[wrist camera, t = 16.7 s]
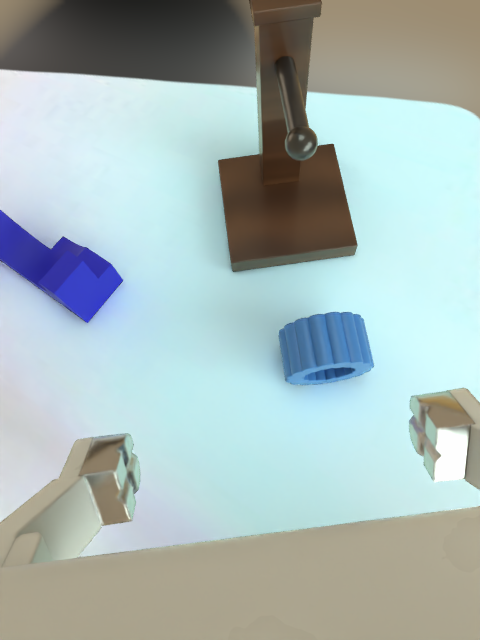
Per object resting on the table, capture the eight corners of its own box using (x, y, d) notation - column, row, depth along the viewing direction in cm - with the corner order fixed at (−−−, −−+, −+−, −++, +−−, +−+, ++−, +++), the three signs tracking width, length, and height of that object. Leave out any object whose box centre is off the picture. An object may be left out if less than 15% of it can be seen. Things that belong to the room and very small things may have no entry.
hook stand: (354, 256, 37) (415, 88, 21) (232, 273, 37) (204, 119, 22) (331, 155, 41) (368, -53, 25) (219, 171, 41) (186, -25, 25)
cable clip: (123, 280, 38) (97, 244, 32) (87, 322, 37) (53, 293, 31) (21, 212, 41) (-19, 168, 35) (-14, 249, 40) (-62, 211, 34)
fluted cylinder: (354, 380, 34) (389, 358, 29) (277, 388, 33) (297, 366, 28) (345, 338, 36) (377, 308, 30) (270, 343, 35) (288, 314, 29)
